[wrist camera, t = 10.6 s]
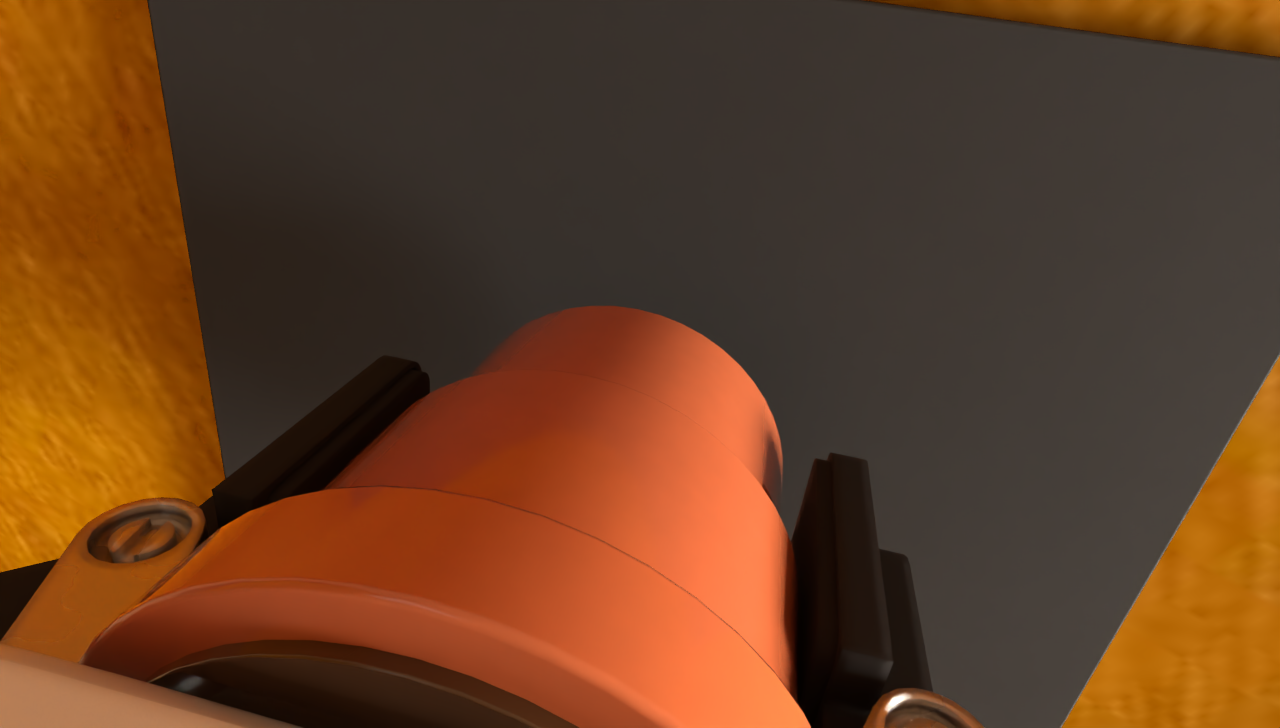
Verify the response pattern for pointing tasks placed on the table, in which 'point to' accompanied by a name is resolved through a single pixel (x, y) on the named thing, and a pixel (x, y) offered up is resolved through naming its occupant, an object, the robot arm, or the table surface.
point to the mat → (774, 255)
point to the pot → (510, 556)
